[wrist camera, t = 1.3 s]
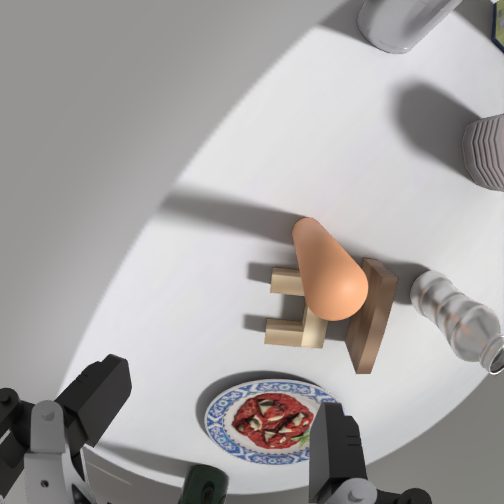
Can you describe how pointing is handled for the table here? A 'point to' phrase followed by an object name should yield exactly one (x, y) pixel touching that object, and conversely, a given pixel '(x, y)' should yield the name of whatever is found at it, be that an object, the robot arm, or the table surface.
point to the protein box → (498, 24)
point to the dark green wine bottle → (204, 486)
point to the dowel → (327, 272)
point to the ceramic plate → (266, 420)
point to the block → (294, 332)
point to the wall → (371, 316)
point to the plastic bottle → (460, 320)
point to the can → (485, 152)
